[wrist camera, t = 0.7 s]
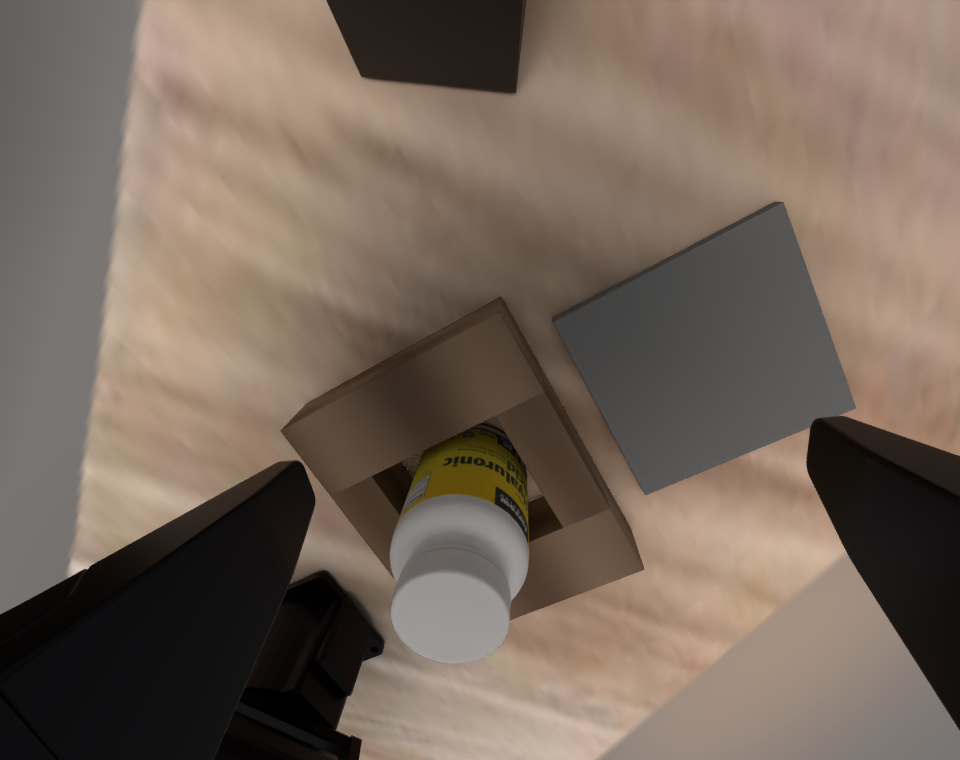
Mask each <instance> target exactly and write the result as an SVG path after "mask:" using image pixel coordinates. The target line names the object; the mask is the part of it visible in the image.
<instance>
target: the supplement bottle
mask: <svg viewBox="0 0 960 760" xmlns="http://www.w3.org/2000/svg"><path fill="white" fill-rule="evenodd" d="M528 564H529V528H528V498H527V473H526V466H525V464H524V462H523V461H522V459H521V457H520V456H519V454H518V453H517V451H516V449H515V448H514V446H513V444H512V443H511V441H510V439H509V438H508V437H507V436H506V435H505V434H503V433H502V432H500V431H498V430H496V429H494V428H492V427H488V426H485V425H480V424H477V425H475V426H473V427H471V428H469V429H467V430H465V431H463V432H461V433H459V434H457V435H455V436H453V437H451V438H449V439H447V440H445V441H443V442H441V443H438V444H436V445H434V446H432V447H430V448H428V449H426V450H425V451H424V453H423V455H422V457H421V460H420V462H419V465H418V467H417V470H416V473H415V476H414V479H413V481H412V484H411V487H410V490H409V492H408V495H407V498H406V501H405V504H404V506H403V509H402V512H401V515H400V517H399V520H398V523H397V526H396V528H395V531H394V534H393V538H392V542H391V547H390V565H391V570H392V573H393V576H394V579H395V581H396V583H397V585H396V589H395V593H394V596H393V600H392V604H391V620H392V625H393V627H394V629H395V631H396V633H397V635H398V637H399V638H400V639H401V640H402V641H403V642H404V643H405V644H406V645H407V646H408V647H409V648H410V649H411V650H413V651H414V652H416V653H417V654H419V655H421V656H423V657H425V658H428V659H430V660H433V661H437V662H442V663H449V664H463V663H469V662H474V661H477V660H480V659H482V658H484V657H486V656H488V655H490V654H491V653H493V652H494V651H495V650H496V649H498V647H499V646H500V645H501V644H502V642H503V641H504V639H505V638H506V635H507V633H508V630H509V625H510V606H511V601H512V600H513V598H514V597H515V596H516V595H517V594H518V592H519V590H520V589H521V587H522V585H523V583H524V581H525V579H526V576H527V571H528Z"/></svg>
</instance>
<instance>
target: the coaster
mask: <svg viewBox="0 0 960 760" xmlns="http://www.w3.org/2000/svg"><path fill="white" fill-rule="evenodd" d="M552 321H553V323H554V325H555V327H556V329H557V331H558V333H559V335H560V336H561V338H562V340H563V342H564V344H565V346H566V348H567V350H568V351H569V353H570V355H571V357H572V359H573V361H574V363H575V365H576V366H577V368H578V370H579V372H580V374H581V376H582V378H583V380H584V381H585V383H586V385H587V387H588V389H589V391H590V393H591V395H592V396H593V398H594V400H595V402H596V404H597V406H598V408H599V410H600V411H601V413H602V415H603V417H604V419H605V421H606V423H607V425H608V426H609V428H610V430H611V432H612V434H613V436H614V438H615V439H616V441H617V443H618V445H619V447H620V449H621V451H622V453H623V454H624V456H625V458H626V460H627V462H628V464H629V466H630V468H631V469H632V471H633V473H634V475H635V477H636V479H637V481H638V483H639V484H640V486H641V488H642V490H643V492H644V494H645V495H647V494H649V493H652V492H654V491H657V490H659V489H662V488H664V487H666V486H669V485H671V484H674V483H676V482H678V481H681V480H683V479H686V478H688V477H691V476H693V475H695V474H698V473H700V472H703V471H705V470H708V469H710V468H712V467H715V466H717V465H720V464H722V463H725V462H727V461H729V460H732V459H734V458H737V457H739V456H741V455H744V454H746V453H749V452H751V451H754V450H756V449H758V448H761V447H763V446H766V445H768V444H771V443H773V442H775V441H778V440H780V439H783V438H785V437H788V436H790V435H792V434H795V433H797V432H800V431H802V430H805V429H807V428H809V427H811V424H812V422H813V421H814V420H815V419H816V418H821V417H833V416H838V415H841V414H843V413H846V412H848V411H851V410H853V409H855V408H856V406H855V404H854V401H853V398H852V395H851V392H850V389H849V387H848V384H847V381H846V378H845V375H844V372H843V370H842V367H841V364H840V361H839V358H838V355H837V353H836V350H835V347H834V344H833V341H832V338H831V336H830V333H829V330H828V327H827V324H826V322H825V319H824V316H823V313H822V310H821V307H820V305H819V302H818V299H817V296H816V293H815V290H814V288H813V285H812V282H811V279H810V276H809V273H808V271H807V268H806V265H805V262H804V259H803V256H802V254H801V251H800V248H799V245H798V242H797V239H796V237H795V234H794V231H793V228H792V225H791V222H790V220H789V217H788V214H787V211H786V208H785V206H784V203H783V202H774V203H772V204H771V205H769V206H767V207H765V208H763V209H761V210H759V211H757V212H755V213H753V214H751V215H750V216H748V217H746V218H744V219H742V220H740V221H738V222H736V223H734V224H732V225H730V226H729V227H727V228H725V229H723V230H721V231H719V232H717V233H715V234H713V235H711V236H709V237H708V238H706V239H704V240H702V241H700V242H698V243H696V244H694V245H692V246H690V247H689V248H687V249H685V250H683V251H681V252H679V253H677V254H675V255H673V256H671V257H669V258H668V259H666V260H664V261H662V262H660V263H658V264H656V265H654V266H652V267H650V268H648V269H647V270H645V271H643V272H641V273H639V274H637V275H635V276H633V277H631V278H629V279H627V280H626V281H624V282H622V283H620V284H618V285H616V286H614V287H612V288H610V289H608V290H606V291H605V292H603V293H601V294H599V295H597V296H595V297H593V298H591V299H589V300H587V301H585V302H584V303H582V304H580V305H578V306H576V307H574V308H572V309H570V310H568V311H566V312H565V313H563V314H561V315H559V316H557V317H555V318H553V319H552Z"/></svg>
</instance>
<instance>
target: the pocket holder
mask: <svg viewBox="0 0 960 760" xmlns="http://www.w3.org/2000/svg"><path fill="white" fill-rule="evenodd" d="M494 416H496V418H497V420H498V421H499V423H500V425H501V426H502V428H503V430H504V431H505V433H506V434H507V436H508V438H509V439H510V441H511V443H512V444H513V446H514V448H515V449H516V451H517V453H518V454H519V456H520V457H521V459H522V461H523V462H524V464H525V466H526V467H527V469H528V471H529V472H530V474H531V475H532V477H533V479H534V480H535V482H536V484H537V485H538V487H539V489H540V490H541V492H542V494H543V495H544V497H543V498H541V499H538V500H536V501H534V502H531V503H529V504H528V528H529V564H528V571H527V576H526V579H525V581H524V583H523V585H522V587H521V589H520V590H519V592H518V594H517V595H516V596H515V597H514V598H513V600H512V601H511V606H510V620H512V619H514V618H517V617H520V616H522V615H525V614H528V613H530V612H533V611H536V610H538V609H541V608H543V607H546V606H549V605H551V604H554V603H557V602H559V601H562V600H565V599H567V598H570V597H573V596H575V595H578V594H581V593H583V592H586V591H589V590H591V589H594V588H597V587H599V586H602V585H605V584H607V583H610V582H613V581H615V580H618V579H621V578H623V577H626V576H629V575H631V574H634V573H637V572H639V571H642V570H645V569H644V566H643V563H642V560H641V557H640V554H639V551H638V548H637V545H636V542H635V539H634V536H633V533H632V531H631V528H630V526H629V524H628V523H627V521H626V519H625V517H624V515H623V514H622V512H621V510H620V508H619V506H618V505H617V503H616V501H615V499H614V498H613V496H612V494H611V492H610V490H609V489H608V487H607V485H606V483H605V481H604V480H603V478H602V476H601V474H600V472H599V471H598V469H597V467H596V465H595V463H594V462H593V460H592V458H591V456H590V455H589V453H588V451H587V449H586V447H585V446H584V444H583V442H582V440H581V438H580V437H579V435H578V433H577V431H576V429H575V428H574V426H573V424H572V422H571V421H570V419H569V417H568V415H567V413H566V412H565V410H564V408H563V406H562V404H561V403H560V401H559V399H558V397H557V395H556V394H555V392H554V390H553V388H552V386H551V385H550V383H549V381H548V379H547V378H546V376H545V374H544V372H543V370H542V369H541V367H540V365H539V363H538V361H537V360H536V358H535V356H534V354H533V352H532V351H531V349H530V347H529V345H528V344H527V342H526V340H525V338H524V336H523V335H522V333H521V331H520V329H519V327H518V326H517V324H516V322H515V320H514V318H513V317H512V315H511V313H510V311H509V309H508V308H507V306H506V304H505V302H504V301H503V299H502V297H499V298H497V299H496V300H494V301H492V302H490V303H488V304H487V305H485V306H483V307H481V308H479V309H477V310H476V311H474V312H472V313H470V314H468V315H467V316H465V317H463V318H461V319H459V320H457V321H456V322H454V323H452V324H450V325H448V326H447V327H445V328H443V329H441V330H439V331H437V332H436V333H434V334H432V335H430V336H428V337H427V338H425V339H423V340H421V341H419V342H417V343H416V344H414V345H412V346H410V347H408V348H407V349H405V350H403V351H401V352H399V353H398V354H396V355H394V356H392V357H390V358H388V359H387V360H385V361H383V362H381V363H379V364H378V365H376V366H374V367H372V368H370V369H368V370H367V371H365V372H363V373H361V374H359V375H358V376H356V377H354V378H352V379H350V380H348V381H347V382H345V383H343V384H341V385H339V386H338V387H336V388H334V389H332V390H330V391H328V392H327V393H325V394H323V395H321V396H319V397H318V398H316V399H314V400H312V401H310V402H308V403H307V404H306V405H305V406H304V407H303V408H302V409H301V410H300V411H299V412H298V413H297V414H296V415H295V416H294V417H293V418H292V419H291V420H290V422H289V423H288V424H287V425H286V426H285V427H284V428H283V429H282V430H281V432H282V434H283V435H284V436H285V437H286V439H287V440H288V441H289V443H290V444H291V445H292V447H293V448H294V449H295V451H296V452H297V453H298V454H299V456H300V457H301V458H302V460H303V461H304V462H305V464H306V465H307V466H308V467H309V469H310V470H311V471H312V473H313V474H314V475H315V477H316V478H317V479H318V480H319V482H320V483H321V484H322V486H323V487H324V488H325V490H326V491H327V492H328V493H329V495H330V496H331V497H332V499H333V500H334V501H335V503H336V504H337V505H338V506H339V508H340V509H341V510H342V512H343V513H344V514H345V516H346V517H347V518H348V519H349V521H350V522H351V523H352V525H353V526H354V527H355V529H356V530H357V531H358V532H359V534H360V535H361V536H362V538H363V539H364V540H365V542H366V543H367V544H368V545H369V547H370V548H371V549H372V551H373V552H374V553H375V555H376V556H377V557H378V558H379V560H380V561H381V562H382V564H383V565H384V566H385V568H386V569H387V570H388V571H389V573H390V574H391V575H392V577H393V578H394V576H393V573H392V570H391V565H390V547H391V542H392V538H393V534H394V531H395V528H396V526H397V523H398V520H399V517H400V515H401V512H402V509H403V506H404V504H405V501H406V498H407V495H408V492H409V490H410V487H411V484H412V479H411V478H410V476H409V475H408V473H407V472H406V471H405V469H404V468H403V466H402V465H401V463H400V462H402V461H404V460H406V459H408V458H410V457H412V456H414V455H416V454H418V453H420V452H422V451H424V450H426V449H428V448H430V447H432V446H434V445H436V444H438V443H441V442H443V441H445V440H447V439H449V438H451V437H453V436H455V435H457V434H459V433H461V432H463V431H465V430H467V429H469V428H471V427H473V426H475V425H477V424H479V423H481V422H484V421H486V420H488V419H490V418H492V417H494Z"/></svg>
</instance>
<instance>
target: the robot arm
mask: <svg viewBox="0 0 960 760" xmlns="http://www.w3.org/2000/svg"><path fill="white" fill-rule="evenodd" d="M806 463H807V470H808V474H809V476H810V478H811V480H812V483H813V485H814V487H815V489H816V491H817V493H818V495H819V497H820V499H821V501H822V503H823V505H824V507H825V509H826V511H827V513H828V515H829V517H830V520H831V522H832V524H833V526H834V528H835V530H836V532H837V534H838V536H839V538H840V540H841V542H842V544H843V546H844V548H845V550H846V552H847V554H848V556H849V557H850V559H851V561H852V562H853V564H854V566H855V567H856V569H857V571H858V572H859V574H860V575H861V577H862V578H863V580H864V581H865V583H866V584H867V586H868V588H869V589H870V591H871V592H872V594H873V596H874V597H875V599H876V600H877V602H878V603H879V605H880V606H881V608H882V610H883V611H884V613H885V614H886V616H887V617H888V619H889V621H890V622H891V624H892V625H893V627H894V628H895V630H896V632H897V633H898V634H899V636H900V638H901V639H902V641H903V643H904V644H905V646H906V647H907V649H908V650H909V652H910V653H911V655H912V657H913V658H914V660H915V661H916V663H917V664H918V666H919V667H920V669H921V671H922V672H923V674H924V675H925V677H926V679H927V680H928V682H929V683H930V685H931V686H932V688H933V689H934V691H935V692H936V694H937V696H938V697H939V699H940V700H941V702H942V703H943V705H944V707H945V708H946V710H947V711H948V713H949V714H950V716H951V718H952V719H953V721H954V722H955V724H956V725H957V727H958V729H959V730H960V456H958V455H955V454H952V453H949V452H946V451H943V450H940V449H938V448H935V447H932V446H929V445H926V444H923V443H920V442H917V441H915V440H912V439H909V438H906V437H903V436H900V435H897V434H894V433H891V432H889V431H886V430H883V429H880V428H877V427H874V426H871V425H868V424H865V423H863V422H860V421H857V420H854V419H851V418H848V417H845V416H833V417H821V418H816V419H815V420H814V421H813V422H812V424H811V428H810V436H809V444H808V452H807V461H806ZM314 507H315V495H314V492H313V489H312V486H311V484H310V481H309V478H308V476H307V473H306V470H305V468H304V466H303V464H302V463H301V462H299V461H297V460H293V461H281V462H277V463H275V464H273V465H272V466H270V467H268V468H266V469H264V470H263V471H261V472H259V473H257V474H255V475H254V476H252V477H250V478H248V479H246V480H245V481H243V482H241V483H239V484H237V485H236V486H234V487H232V488H230V489H228V490H227V491H225V492H223V493H221V494H219V495H218V496H216V497H214V498H212V499H210V500H208V501H207V502H205V503H203V504H201V505H199V506H198V507H196V508H194V509H192V510H190V511H189V512H187V513H185V514H183V515H181V516H180V517H178V518H176V519H174V520H172V521H171V522H169V523H167V524H165V525H163V526H162V527H160V528H158V529H156V530H154V531H153V532H151V533H149V534H147V535H145V536H144V537H142V538H140V539H138V540H136V541H134V542H133V543H131V544H129V545H127V546H125V547H124V548H122V549H120V550H118V551H116V552H115V553H113V554H111V555H109V556H107V557H106V558H104V559H102V560H100V561H98V562H97V563H95V564H93V565H91V566H90V567H89V569H84V570H82V571H80V572H78V573H77V574H75V575H73V576H71V577H69V578H67V579H66V580H64V581H62V582H61V583H58V584H57V585H55V586H53V587H51V588H49V589H47V590H45V591H44V592H42V593H40V594H38V595H36V596H34V597H33V598H31V599H29V600H27V601H25V602H23V603H21V604H20V605H18V606H16V607H14V608H12V609H10V610H8V611H6V612H4V613H2V614H0V760H359V755H360V748H361V742H362V740H361V739H359V738H357V737H355V736H353V735H352V736H351V737H349V736H347V735H345V734H343V733H341V732H338V731H336V729H337V726H338V723H339V720H340V717H341V714H342V711H343V708H344V705H345V702H346V699H347V696H350V695H351V694H352V692H353V688H354V685H355V682H356V679H357V676H358V673H359V670H360V667H361V664H362V662H363V661H365V660H368V659H370V658H373V657H376V656H378V655H380V654H382V652H383V649H384V642H383V640H382V639H381V638H380V637H379V636H378V634H377V633H376V632H375V631H374V629H373V628H372V627H371V626H370V625H369V623H368V622H367V621H366V620H365V618H364V617H363V616H362V615H361V614H360V612H359V611H358V610H357V609H356V607H355V606H354V605H353V604H352V603H351V601H350V600H349V599H348V598H347V596H346V595H345V594H344V593H343V592H342V590H341V589H340V588H339V587H338V585H337V584H336V583H335V582H334V581H333V579H332V578H331V577H330V576H329V575H328V574H326V573H324V572H319V573H316V574H314V575H312V576H310V577H307V578H305V579H303V580H301V581H298V582H296V583H294V584H292V585H289V584H290V581H291V579H292V576H293V573H294V570H295V568H296V565H297V561H298V558H299V555H300V552H301V549H302V546H303V542H304V539H305V536H306V533H307V530H308V527H309V523H310V520H311V517H312V514H313V511H314ZM320 581H322V582H320ZM323 582H324V583H323Z"/></svg>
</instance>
